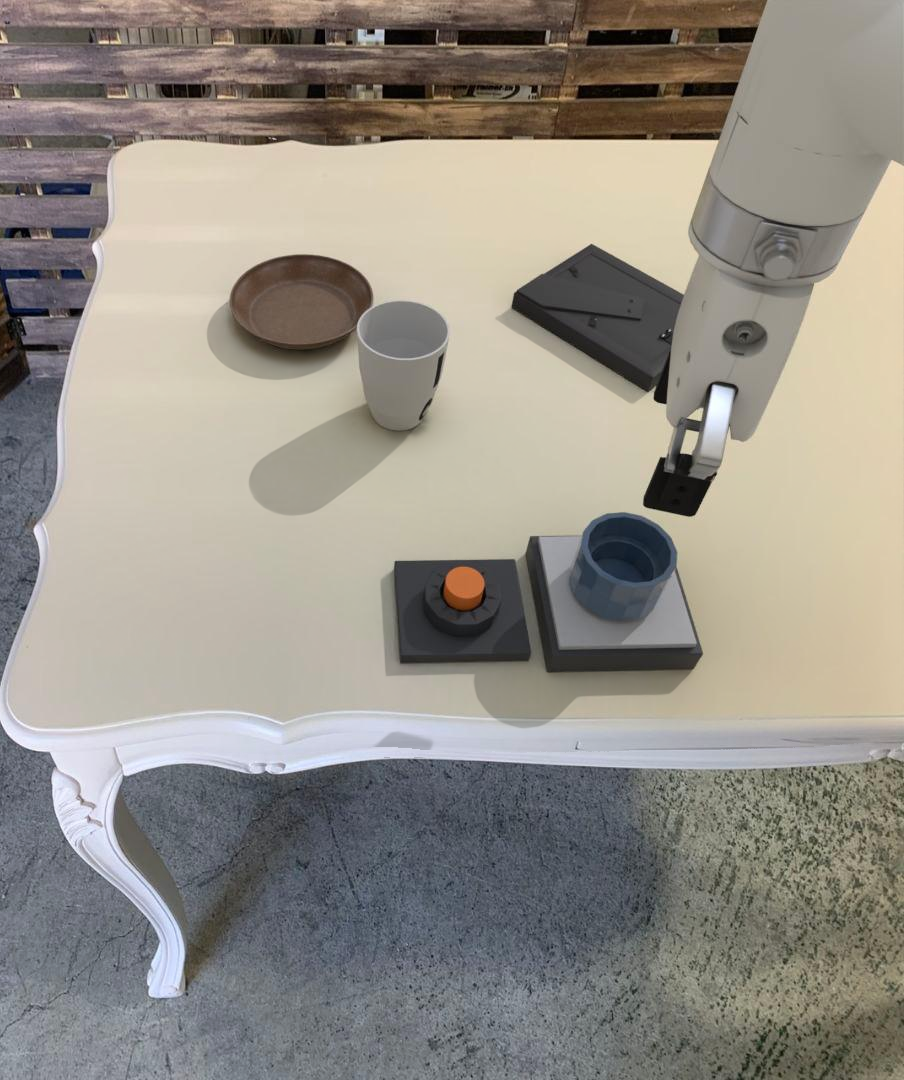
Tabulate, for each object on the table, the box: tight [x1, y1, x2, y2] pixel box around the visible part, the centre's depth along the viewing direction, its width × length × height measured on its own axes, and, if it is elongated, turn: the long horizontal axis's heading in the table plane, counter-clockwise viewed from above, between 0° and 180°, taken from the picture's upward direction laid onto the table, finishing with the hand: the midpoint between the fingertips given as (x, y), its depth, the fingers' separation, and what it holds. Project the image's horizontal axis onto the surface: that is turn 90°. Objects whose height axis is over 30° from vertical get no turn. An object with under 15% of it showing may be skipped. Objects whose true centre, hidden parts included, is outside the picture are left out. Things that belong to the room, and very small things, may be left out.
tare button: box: [443, 567, 485, 611], centre depth 69 cm, size 3×3×2 cm
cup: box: [356, 299, 451, 432], centre depth 82 cm, size 8×8×10 cm
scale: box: [524, 535, 704, 673], centre depth 72 cm, size 12×12×3 cm
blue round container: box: [569, 511, 678, 621], centre depth 68 cm, size 7×7×5 cm
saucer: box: [229, 253, 374, 350], centre depth 93 cm, size 15×15×3 cm
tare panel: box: [393, 558, 532, 664], centre depth 71 cm, size 10×9×3 cm
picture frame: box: [510, 243, 685, 392], centre depth 94 cm, size 13×2×18 cm
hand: (672, 453), depth 58 cm, fingers open, 9 cm apart
